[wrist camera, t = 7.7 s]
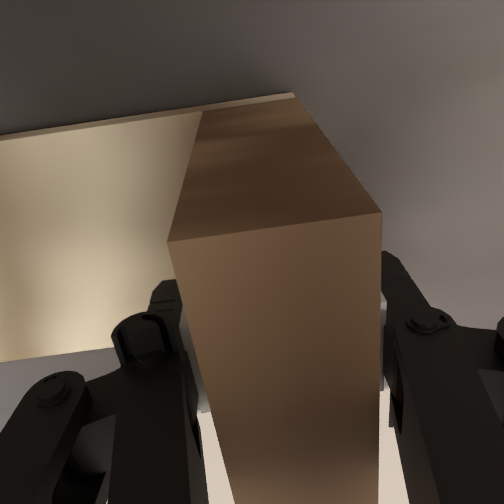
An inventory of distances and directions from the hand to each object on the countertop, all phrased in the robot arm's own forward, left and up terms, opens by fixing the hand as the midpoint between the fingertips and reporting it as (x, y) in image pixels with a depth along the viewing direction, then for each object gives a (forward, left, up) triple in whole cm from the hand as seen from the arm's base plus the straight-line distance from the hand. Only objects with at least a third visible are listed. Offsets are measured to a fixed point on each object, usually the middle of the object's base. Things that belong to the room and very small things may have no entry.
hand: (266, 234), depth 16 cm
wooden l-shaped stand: (-6, -9, -2) cm, 11 cm away
